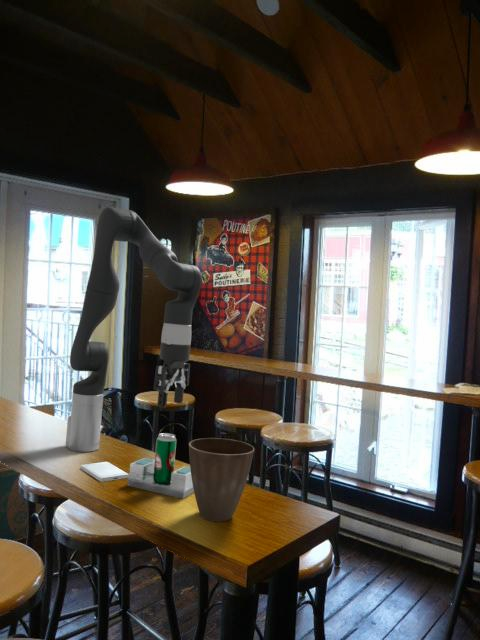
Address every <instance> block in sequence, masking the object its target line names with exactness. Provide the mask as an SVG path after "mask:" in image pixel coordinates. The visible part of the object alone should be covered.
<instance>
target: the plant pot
mask: <svg viewBox="0 0 480 640" xmlns="http://www.w3.org/2000/svg"><path fill="white" fill-rule="evenodd" d="M254 452H255V447H254V446H253V445H251V444H249V443H247V442H244V441H241V440H235V439H229V438H221V437H217V438H216V437H207V438H205V437H204V438H197V439H193V440H191V441H190V442H189V443H188V456H189V467H190V469H191V477H192V483H193V489H194V492H193V494H194V499H195V502H196V505H197V509H198V513H199V515H200V517H201V518H202V519H205V520H207V521H211V522H224V521H225V522H226V521H228V520H231V519H232V518H233V516H234V515H235V512H236V510H237V508H238V506H239V503H240V500H241V498H242V495H243V493H244V490H245V487H246V484H247V480H248V478H249V475H250V474H249V473H250V470H251V467H252V461H253V457H254Z"/></svg>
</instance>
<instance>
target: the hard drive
mask: <svg viewBox="0 0 480 640" xmlns="http://www.w3.org/2000/svg"><path fill="white" fill-rule="evenodd" d="M80 470H82V471H83V472H85V473H87V475H90V476H91V477H93V478H94V479H96V480H97V481H99V482H100V483H103V482H104V483H105V482H110V481H115V480H116V481H117V480H122V479H123V480H125V479H128V477H129V473H127V472H125V471H124V470H122V469H120V468H119V467H117V466H116V465H114V464H112V463H111V462H109V461H102V462H95V463H86V464H85V463H84V464H81V465H80Z"/></svg>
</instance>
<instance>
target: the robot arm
mask: <svg viewBox="0 0 480 640" xmlns="http://www.w3.org/2000/svg"><path fill="white" fill-rule="evenodd" d="M96 225H97V227H96V235H95V243H94V251H93V258H92V262H91V268H90V273H89V276H88V281H87V284H86V288H85V295H84V300H83V304H82V310H81V315H80V317H79V318H80V319H79V323H78V326H77V329H76V332H75V336H74V340H73V343H72V346H71V349H70V350H71V351H70V355H69V356H70V357H69V362H70V363H69V365H70V368H71V369H72V370H73V371H78V372H90V373H91V374H90V375H89V376H87V377H86V378H83V379H82V380H79V381H76V382H75V383H73V386H72V397H71V399H72V400H71V409H70V415H69V416H68V417H67V422H66V423H67V426H66V433H65V434H66V435H65V448H68V449H69V450H70V451H74V452H83V453H84V452H85V453H87V452H94V451H95V452H96V451H97V450H99V448H100V440H101V439H100V438H101V426H102V416H103V406H104V405H103V404H104V392H105V391H104V390H105V387H106V384H107V383H106V381H107V373H108V366H109V358H110V357H109V356H110V351H109V346H108V345H107V343H105V342H103V341H90V339H91V338H92V335H93V334H94V332H95V330H96V329H97V328H98V327H99V326H100V324H101V323H102V322H103V321H104V320H105V319H106V318H107V317H108V316H109V315H110V314H111V313H112V311H113V310H114V308H115V307H116V303H117V301H118V295H119V290H120V281H119V277H118V275H117V271H116V268H115V266H114V263H113V257H112V256H113V255H112V254H113V247H114V242H115V241H116V242H126V243H127V242H129V243H132V244H134V245H135V246H137V247H138V253H139V255H140V258H141V259H142V261H143V262H144V263H145V264H146V265H147V266H148V267H149V268H150V269H151V270H152V271H153V272H155V275H156V277H157V278H158V280H159V282H160V284H162V286H163V287H164V288H166V289H168V290H171V291H178V293H179V294H178V296H177V297H176V298H175V299H172V300H169V301H167V302H166V304H165V307H164V315H163V316H164V318H163V326H162V330H161V337H160V338H161V339H160V350H159V359H160V360H162V361H163V365H156V366H155V373H154V378H153V379H154V380H153V381H154V382H153V390H154V391H157V392H158V395H157V407H158V408H162V409H165V408H167V405H168V395H169V394H168V392H169V389H170V387H172V386H173V384H174V387H175V388H174V397H173V398H174V399H173V401H174V403H175V404H182V403H183V402H184V401H183V400H184V390H185V389H186V386H187V387H188V386H189V385H190V372H191V363H187V362H189V361H190V354H191V353H190V352H191V345H192V344H191V342H192V323H193V321H192V320H193V310H194V307H195V305H196V302H197V300H198V297H199V294H200V291H201V288H202V284H203V283H202V282H203V276H202V272H201V270H200V268H199V267H198V266H196V265H194V264H193V265H192V264H187V263H181V262H179V260H178V257H177V255H176V254H175V252H173V250H171V249H170V248H168V247H167V245H165V244H164V243H162V242H161V241H160V239H158V238H157V237H156V236H155V235H154V234H153V232H152V231H151V230H150V228H149V227H148V226H147V225H146V224H145V222H144V220H143V219H142V218H141V217H140V215H138V214H137V213H136V211H133V210H131V209H125V208H118V207H112V206H108V207H105V208H103V209H102V211H101V213H99V217H98V220H97V224H96Z"/></svg>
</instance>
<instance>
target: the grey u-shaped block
mask: <svg viewBox="0 0 480 640" xmlns="http://www.w3.org/2000/svg"><path fill="white" fill-rule="evenodd" d="M154 464H155V459H154V458H153V459H152V458H147V457H143V458H141V459H138V460H135V461H134V462H131V463H130V464H129V473H128V474H129V477H128V478H127V486H128V487H133V488H137V489H141V490H145V491H148V492H154V493H158V494H161V495H166V496H169V497H175V498H179V499H183V500H184V499H185V498H187V497H188V496H190V495H192V494H194V489H193V483H192V477H191V469H190V466H185V465H184V466H183V467H181V468H178V469H175V470H174V472H172V474H171V483H169V484H158V483H156V482H155V481H154V480H153V475H154ZM191 493H192V494H191Z"/></svg>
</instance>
